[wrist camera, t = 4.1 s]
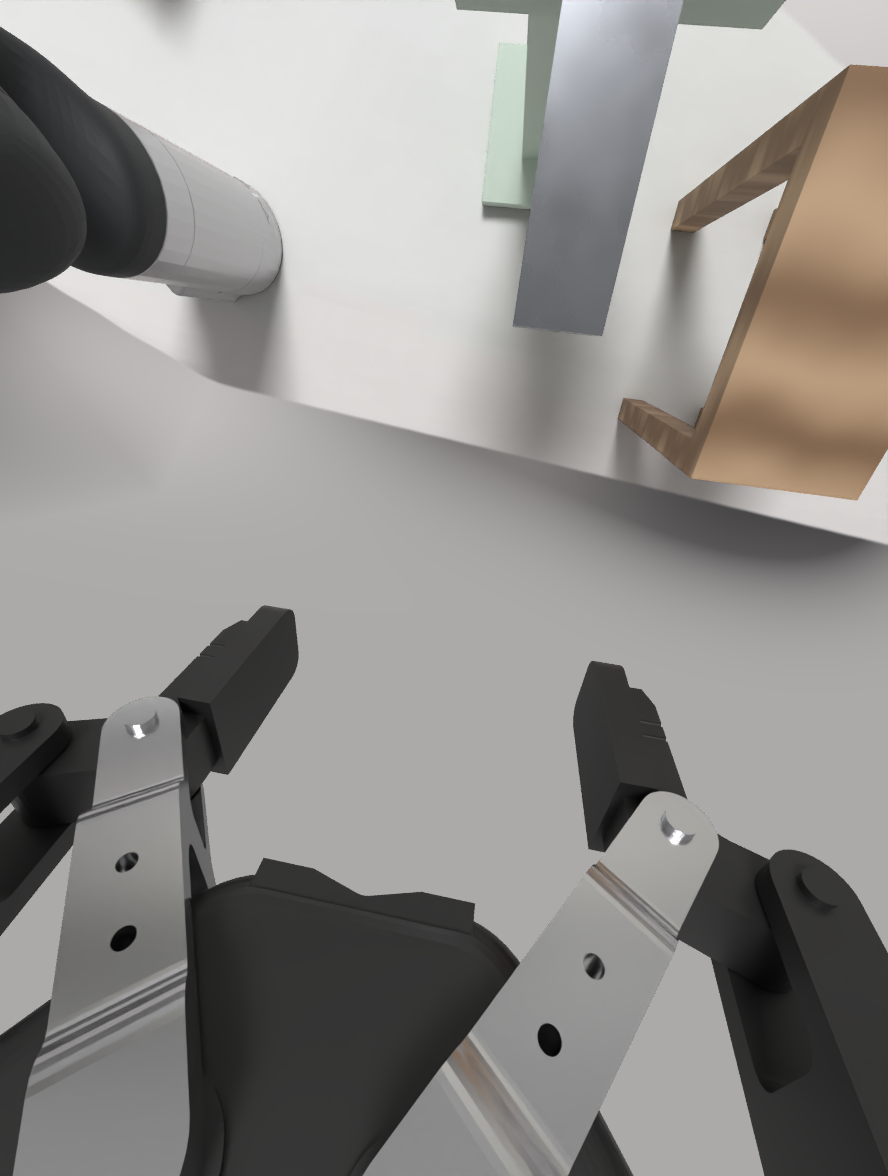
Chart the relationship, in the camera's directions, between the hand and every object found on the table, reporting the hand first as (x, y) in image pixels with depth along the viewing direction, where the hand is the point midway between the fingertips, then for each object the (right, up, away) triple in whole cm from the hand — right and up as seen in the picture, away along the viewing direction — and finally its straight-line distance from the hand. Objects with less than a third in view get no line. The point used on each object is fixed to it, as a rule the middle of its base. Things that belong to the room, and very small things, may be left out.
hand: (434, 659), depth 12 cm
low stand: (+25, +27, +31) cm, 48 cm away
